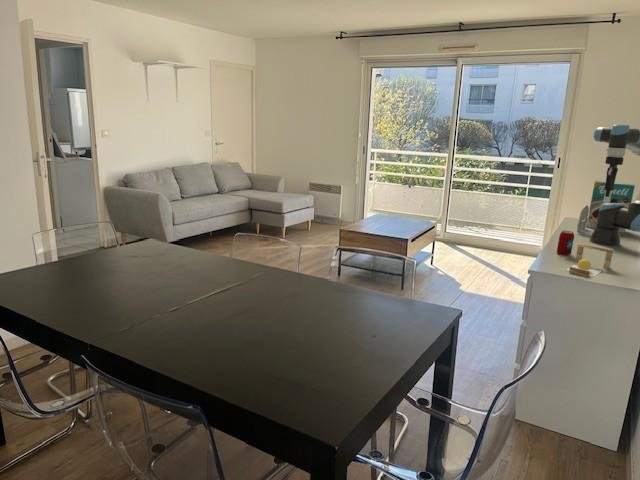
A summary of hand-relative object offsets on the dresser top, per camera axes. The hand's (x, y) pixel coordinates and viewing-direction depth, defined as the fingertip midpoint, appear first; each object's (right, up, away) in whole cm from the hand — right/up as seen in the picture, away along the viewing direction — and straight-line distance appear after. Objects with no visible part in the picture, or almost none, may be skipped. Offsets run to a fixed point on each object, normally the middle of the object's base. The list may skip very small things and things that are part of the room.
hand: (606, 202), depth 248 cm
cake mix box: (+39, -12, +67) cm, 78 cm away
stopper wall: (-30, -35, -29) cm, 54 cm away
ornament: (+22, -15, +53) cm, 59 cm away
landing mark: (-25, -34, -24) cm, 48 cm away
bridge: (-15, -31, -14) cm, 37 cm away
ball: (-25, -31, -25) cm, 46 cm away
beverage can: (-21, -27, +3) cm, 34 cm away
